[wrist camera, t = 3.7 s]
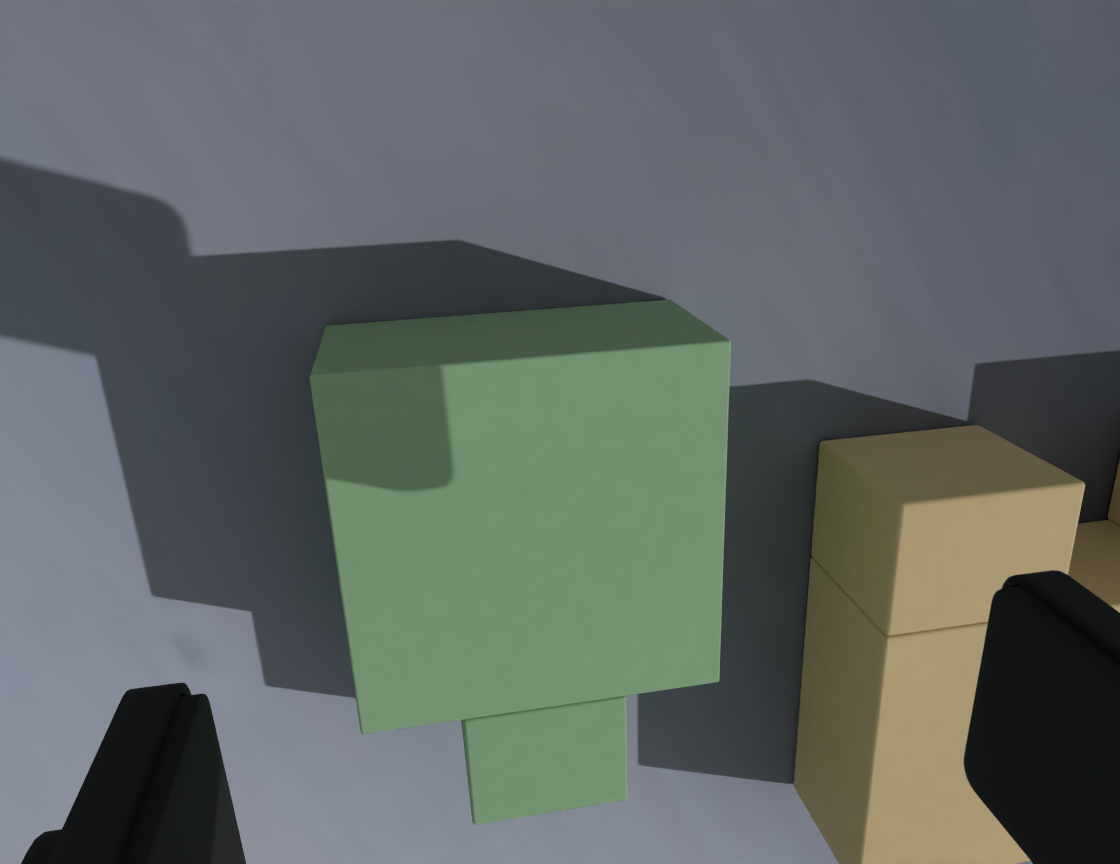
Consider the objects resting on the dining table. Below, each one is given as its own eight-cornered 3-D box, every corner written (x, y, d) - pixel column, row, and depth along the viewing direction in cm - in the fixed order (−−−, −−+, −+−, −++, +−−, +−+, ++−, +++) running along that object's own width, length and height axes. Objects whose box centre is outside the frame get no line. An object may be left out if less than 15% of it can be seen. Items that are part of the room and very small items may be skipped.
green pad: (379, 726, 20) (376, 843, 17) (324, 324, 17) (308, 376, 14) (667, 683, 21) (716, 786, 18) (671, 299, 18) (731, 340, 15)
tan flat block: (792, 786, 23) (857, 895, 20) (817, 439, 20) (900, 503, 16) (1182, 720, 25) (1299, 811, 22) (1270, 392, 22) (1424, 441, 18)
